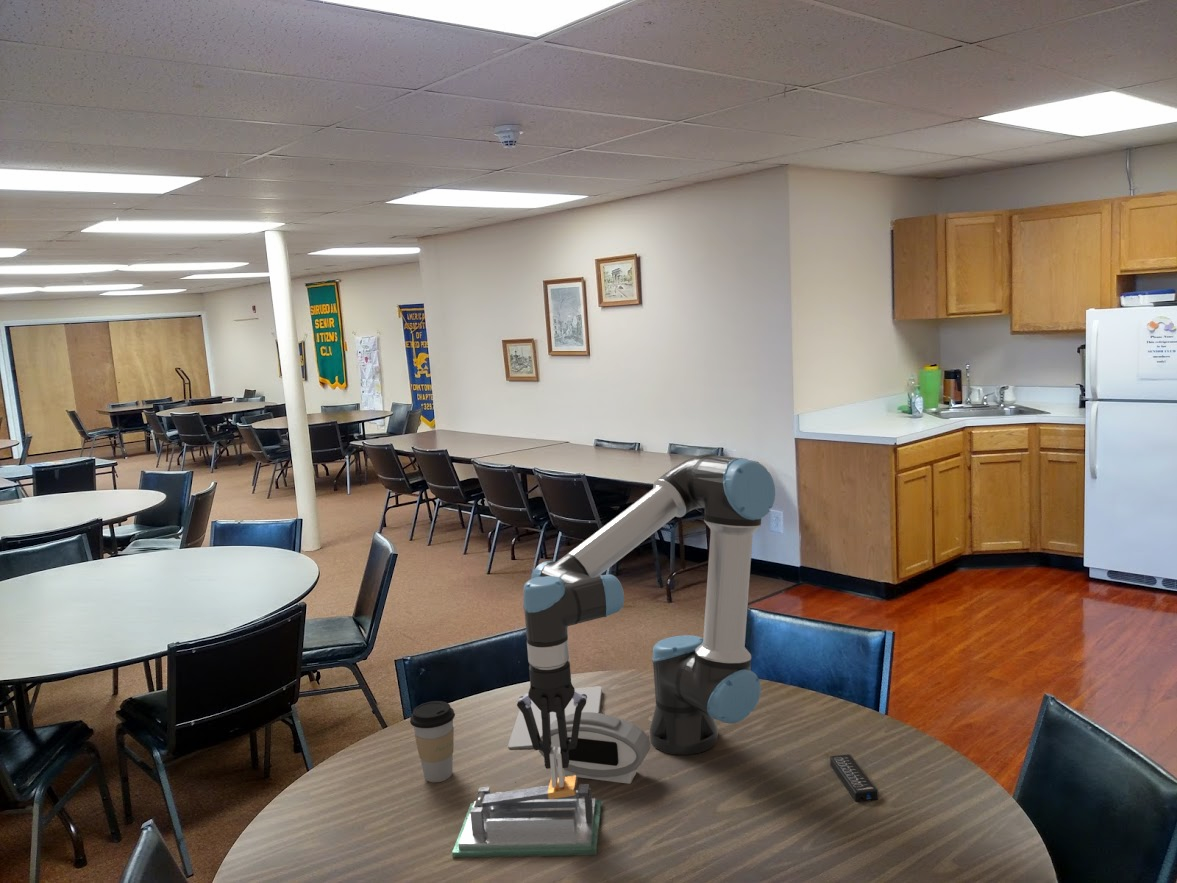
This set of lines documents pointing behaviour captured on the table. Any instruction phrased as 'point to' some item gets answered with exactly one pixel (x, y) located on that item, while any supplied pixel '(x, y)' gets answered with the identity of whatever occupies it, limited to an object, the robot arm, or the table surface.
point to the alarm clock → (603, 747)
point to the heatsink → (532, 827)
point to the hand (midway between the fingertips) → (558, 783)
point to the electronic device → (551, 717)
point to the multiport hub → (853, 778)
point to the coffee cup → (434, 739)
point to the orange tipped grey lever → (529, 793)
